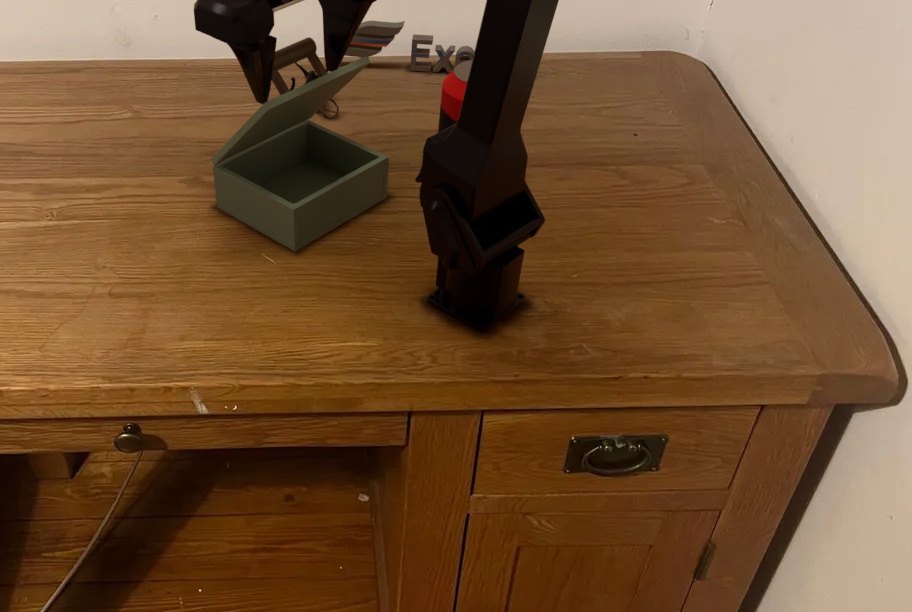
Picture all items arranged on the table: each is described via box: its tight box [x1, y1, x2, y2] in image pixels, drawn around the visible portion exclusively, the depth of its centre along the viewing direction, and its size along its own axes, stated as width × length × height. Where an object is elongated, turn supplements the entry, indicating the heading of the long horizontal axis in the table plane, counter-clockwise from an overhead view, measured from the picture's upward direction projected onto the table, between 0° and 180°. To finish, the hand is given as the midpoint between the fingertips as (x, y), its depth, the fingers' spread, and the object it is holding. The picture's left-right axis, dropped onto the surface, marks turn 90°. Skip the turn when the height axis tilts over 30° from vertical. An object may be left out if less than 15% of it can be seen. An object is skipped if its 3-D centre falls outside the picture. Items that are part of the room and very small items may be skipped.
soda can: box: [437, 60, 472, 133], centre depth 92 cm, size 8×8×12 cm
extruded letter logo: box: [344, 20, 475, 74], centre depth 114 cm, size 25×2×6 cm, turn 81°
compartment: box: [212, 119, 390, 252], centre depth 92 cm, size 11×13×5 cm
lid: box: [210, 36, 372, 166], centre depth 88 cm, size 12×13×5 cm
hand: (297, 86), depth 86 cm, fingers open, 9 cm apart
